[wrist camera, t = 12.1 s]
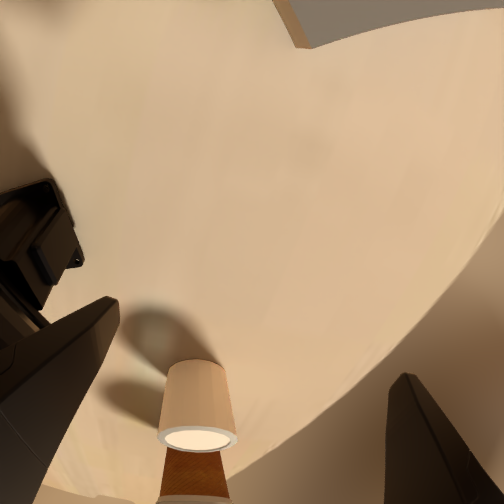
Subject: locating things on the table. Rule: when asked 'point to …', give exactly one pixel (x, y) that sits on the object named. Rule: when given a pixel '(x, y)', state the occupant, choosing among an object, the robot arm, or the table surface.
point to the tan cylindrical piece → (197, 408)
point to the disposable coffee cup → (193, 478)
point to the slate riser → (361, 16)
